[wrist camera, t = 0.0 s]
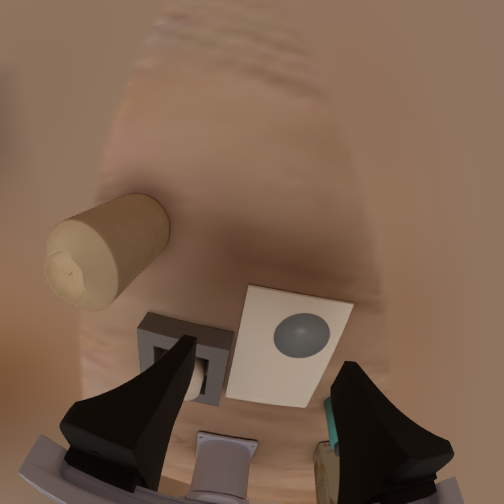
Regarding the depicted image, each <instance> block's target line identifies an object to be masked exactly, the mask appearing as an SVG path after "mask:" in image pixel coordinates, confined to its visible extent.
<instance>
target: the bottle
mask: <svg viewBox="0 0 504 504" xmlns="http://www.w3.org/2000/svg"><path fill="white" fill-rule="evenodd" d="M324 407H325V413H326V419H327V425H328V432H329V439H330V445H331V449H333V450H334V452H335V455H336V456H338V457H339V445H338V438H337V433H336V427H335V422H334V417H333V412H332V406H331V397H329V398H328V399H327V400H326V401H325V402H324Z"/></svg>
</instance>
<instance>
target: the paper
mask: <svg viewBox="0 0 504 504" xmlns="http://www.w3.org/2000/svg"><path fill="white" fill-rule="evenodd" d="M353 306H354V304H353V303H351V302H345V301H339V300H333V299H327V298H321V297H315V296H309V295H304V294H298V293H293V292H287V291H282V290H276V289H271V288H266V287H260V286H255V285H250V284H249V285H248V290H247V294H246V299H245V304H244V309H243V314H242V319H241V323H240V328H239V333H238V338H237V343H236V347H235V352H234V357H233V362H232V367H231V371H230V376H229V381H228V386H227V390H226V395H225V397H228V398H234V399H239V400H245V401H252V402H259V403H266V404H274V405H282V406H292V407H304V408H306V406H307V404H308V402H309V401H310V399H311V397H312V395H313V393H314V391H315V389H316V387H317V385H318V383H319V381H320V379H321V377H322V375H323V373H324V371H325V369H326V367H327V365H328V363H329V361H330V359H331V357H332V355H333V352H334V350H335V348H336V346H337V344H338V341H339V339H340V337H341V335H342V332H343V330H344V328H345V325H346V323H347V320H348V318H349V316H350V313H351V311H352V308H353Z"/></svg>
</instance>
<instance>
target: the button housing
mask: <svg viewBox="0 0 504 504" xmlns="http://www.w3.org/2000/svg"><path fill="white" fill-rule="evenodd" d="M232 334H233V332H230V331H225V330H220V329H216V328H211V327H206V326H202V325H197V324H193V323H189V322H184V321H180V320H176V319H172V318H168V317H164V316H160V315H157V314H153V313H149V312H148V313H147V314H146V316H145V317H144V319H143V320H142V322H141V323H140V324H139V326H138V327H137V335H138V349H139V360H140V370H141V373H142V372H144V371H145V370H146V369H148V368H149V367H150V366H151V365H153V364H154V363H155V362H156V361H158V360H159V359H160V357H161V355H162V353H163V349H167V350H170V349H171V348H172V347H173V346H174V345H175V343H176V342H177V341H178V340H179V339H180V338H181V337H182V336H183V335H189V336H193V337H197V346H196V357H199V358H204V359H208V360H209V366H208V373H207V376H204V379H203V382H202V386H201V389H200V393H199V395H198V396H197V397H196V398H195V399H193V400H190V401H195V402H199V403H203V404H208V405H213V406H218V407H219V402H220V397H221V391H222V386H223V381H224V376H225V371H226V365H227V360H228V355H229V350H230V345H231V339H232Z"/></svg>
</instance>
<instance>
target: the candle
mask: <svg viewBox="0 0 504 504" xmlns="http://www.w3.org/2000/svg"><path fill="white" fill-rule="evenodd" d="M169 233H170V226H169V220H168V217H167V215H166V212H165V211H164V209H163V208H162V206H161V205H160V204H159V203H158V202H157V201H156V200H155V199H153V198H151V197H149V196H147V195H144V194H130V195H127V196H124V197H121V198H118V199H115V200H113V201H110V202H107V203H105V204H102V205H100V206H97V207H94V208H92V209H89V210H87V211H84V212H82V213H80V214H77V215H75V216H72V217H70V218H68V219H66V220H63V221H61V222H59V223H58V224H56V225H55V226H54V227H53V229H52V230H51V232H50V234H49V236H48V239H47V243H46V252H45V267H44V273H45V276H46V278H47V280H48V282H49V284H50V286H51V288H52V290H53V291H54V293H55V294H56V295H58V296H60V297H62V298H64V299H65V300H67V301H68V302H70V304H71V305H73V306H77V307H79V308H81V309H84V310H88V311H100V310H103V309H105V308H107V307H108V306H110V305H111V304H112V303H113V301H114V300H115V299H116V298H117V297H118V296H119V295H120V294H121V293H122V292H123V291H124V290H125V289H126V288H127V287H128V286H129V284H130V283H131V282H132V281H133V280H134V279H135V278H136V277H137V276H138V275H139V274H140V273H141V272H142V271H143V270H144V269H145V268H146V267H147V266H148V265H149V264H150V263H151V262H152V261H153V260H154V259H155V258H156V257H157V256H158V255H159V254H160V253H161V252H162V250H163V249H164V248H165V246H166V244H167V241H168V239H169Z"/></svg>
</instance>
